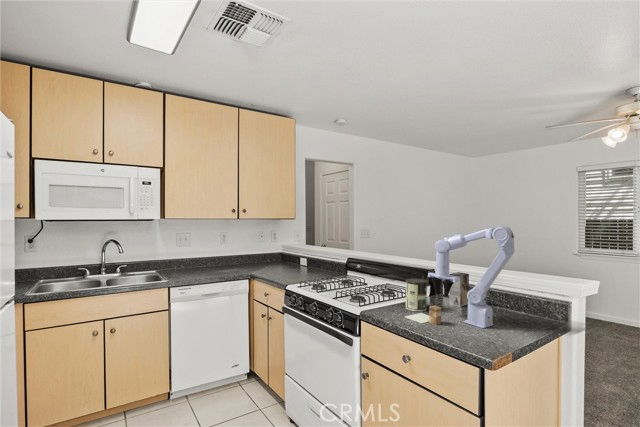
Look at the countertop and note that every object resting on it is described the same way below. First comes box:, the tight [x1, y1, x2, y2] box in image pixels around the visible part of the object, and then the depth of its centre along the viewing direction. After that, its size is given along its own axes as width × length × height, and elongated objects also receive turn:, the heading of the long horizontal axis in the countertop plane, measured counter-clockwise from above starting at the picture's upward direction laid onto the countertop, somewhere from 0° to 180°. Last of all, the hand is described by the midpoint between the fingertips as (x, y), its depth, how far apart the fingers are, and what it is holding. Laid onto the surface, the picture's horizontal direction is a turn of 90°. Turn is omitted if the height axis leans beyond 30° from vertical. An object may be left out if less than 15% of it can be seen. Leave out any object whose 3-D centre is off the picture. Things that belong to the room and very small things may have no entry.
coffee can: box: [405, 277, 428, 313], centre depth 170 cm, size 10×10×14 cm
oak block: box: [428, 305, 442, 326], centre depth 148 cm, size 4×4×7 cm
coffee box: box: [448, 271, 470, 308], centre depth 178 cm, size 9×6×16 cm
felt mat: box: [404, 312, 429, 324], centre depth 155 cm, size 10×11×1 cm
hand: (442, 295), depth 157 cm, fingers open, 4 cm apart
